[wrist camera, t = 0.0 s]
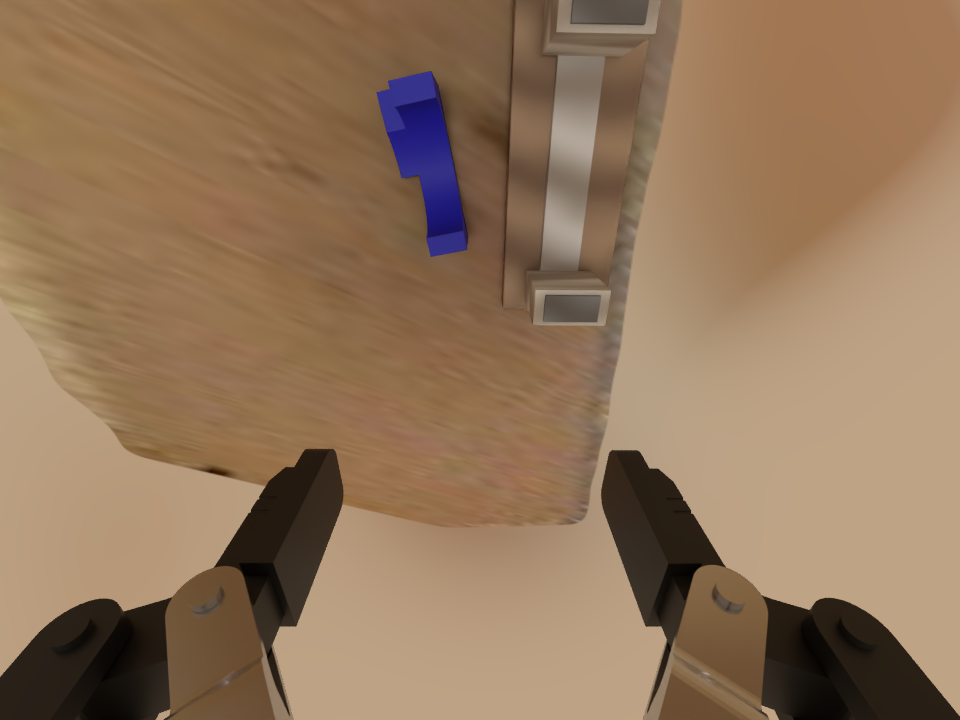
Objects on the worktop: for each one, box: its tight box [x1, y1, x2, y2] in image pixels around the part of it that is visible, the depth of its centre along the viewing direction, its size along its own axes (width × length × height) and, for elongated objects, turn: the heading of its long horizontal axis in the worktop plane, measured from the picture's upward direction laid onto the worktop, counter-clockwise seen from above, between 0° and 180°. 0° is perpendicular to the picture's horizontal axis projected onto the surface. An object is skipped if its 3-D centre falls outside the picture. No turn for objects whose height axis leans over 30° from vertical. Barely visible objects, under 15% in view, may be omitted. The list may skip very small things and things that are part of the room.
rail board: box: [502, 0, 661, 326], centre depth 31 cm, size 24×10×8 cm, turn 179°
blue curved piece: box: [377, 71, 468, 257], centre depth 32 cm, size 12×4×6 cm, turn 11°
